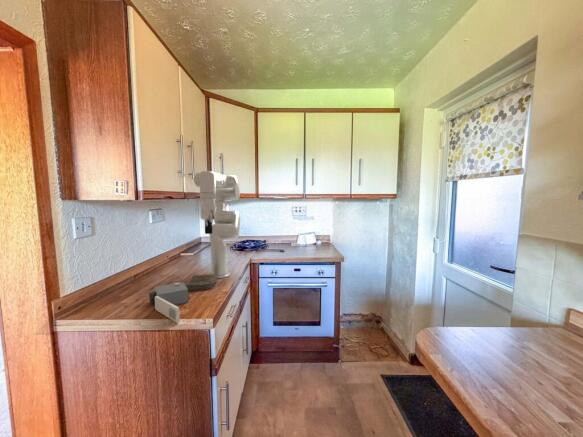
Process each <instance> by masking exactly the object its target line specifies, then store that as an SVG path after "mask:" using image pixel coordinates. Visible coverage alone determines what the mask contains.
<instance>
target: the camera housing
mask: <svg viewBox="0 0 583 437" xmlns="http://www.w3.org/2000/svg"><path fill="white" fill-rule="evenodd" d="M184 283H185V282H184V281H181V282H174V283H170V284H163V285H158V286H154V291H150V292H149V293H148V299H149V300H148V301H149V303H150V304H151V303H155V296H159V297H161V298H162V299H164V300H166V301H168V302H170V303H172V304H174V305H175V306H178V305H182V304H186V303H189V291H188V289H187V287H186V286H185V284H184Z"/></svg>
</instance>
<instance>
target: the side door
mask: <svg viewBox="0 0 583 437" xmlns="http://www.w3.org/2000/svg"><path fill="white" fill-rule="evenodd" d="M154 310H156V312H158V313H160V314H162V315H163V316H165V317H167V318H168V319H170V320H171V321H173V322H175V323H176V324H178V323H180V322H181V321H180V319H181V318H180V317H181V316H180V307H179V306H178V305H174V304H172V303H170V302H168V301H166V300H164V299H162V298H161V297H159V296H155V302H154Z"/></svg>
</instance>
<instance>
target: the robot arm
mask: <svg viewBox="0 0 583 437" xmlns="http://www.w3.org/2000/svg"><path fill="white" fill-rule="evenodd" d="M193 182H194V185H195V186H196V187H197V188H199V200H200V219H201V220H204V234H205V235H209V241H210V271H211V272H209V273H208V275H210V274H212V275H214V276H215V277H217V279H224V278H227V277H229V276H230V275H231V272H230V271H228V245H227V244H226V242H225V241H226V240H237V239H238V238H239V235H240V226H241V216H240V213H239V211H235V210H231V208H230V206H229V205H228V203H227V202H226V201H237V200H239V199H240V197H241V191H240V184H239V180H238V178H237V176H236V175H234V174H221V173H218V172H215V171H212V170H211V171H210V170H202V171H200V172H197V173H195V174H194V177H193ZM213 222H214V224H213ZM224 240H225V241H224Z"/></svg>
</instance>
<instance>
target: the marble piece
mask: <svg viewBox="0 0 583 437" xmlns="http://www.w3.org/2000/svg"><path fill="white" fill-rule="evenodd" d="M217 280H218V278H217V277H215V276H214V275H212V274H210V275H209V274H199V275H198V274H197V275H196V274H195V275H193V276H192V277H191V279H189V280H188V281H186V282H183V283H184V284H185V286H186V287H187V289H188V292H190V291H191V292H192V291H193V292H194V291H203V290H204V291H205V290H212V289H213V287H214V286H215V285H216V283H217Z"/></svg>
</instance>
